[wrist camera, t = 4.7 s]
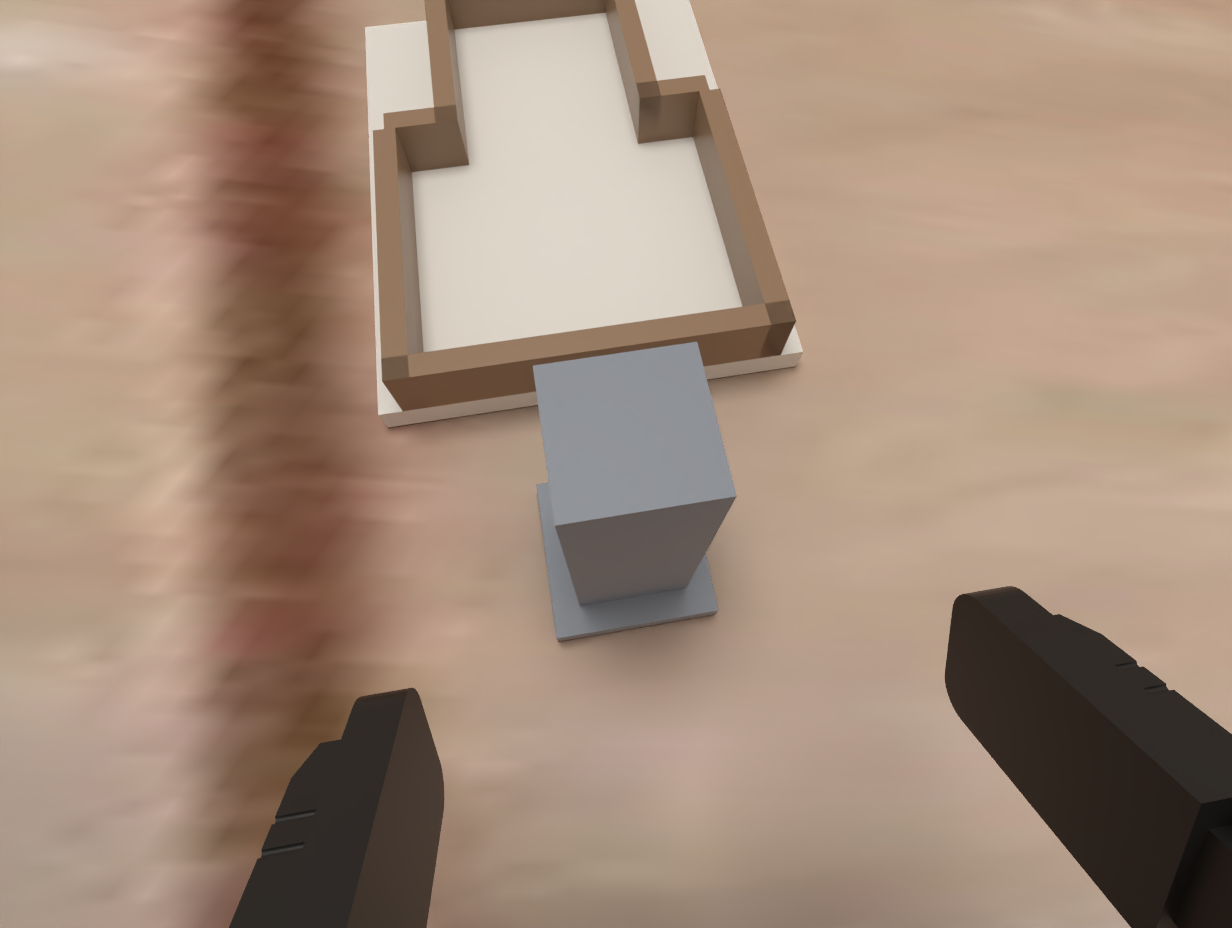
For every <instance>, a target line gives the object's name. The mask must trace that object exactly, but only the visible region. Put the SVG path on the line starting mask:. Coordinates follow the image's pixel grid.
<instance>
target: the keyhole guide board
mask: <svg viewBox="0 0 1232 928" xmlns="http://www.w3.org/2000/svg"><path fill="white" fill-rule="evenodd" d="M425 11H426V21H417V22H408V23H399V24H390V25H381V26H372V27H365V35H366V65H367V95H368V125H369V155H370V185H371V215H372V245H373V275H374V304H375V334H376V364H377V394H378V415H379V417H380V418H381V419H382V421H383V422H384V423H385V424H386V426H387V427H395V426H401V425H408V424H415V423H421V422H428V421H434V420H441V419H448V418H454V417H461V416H468V415H474V414H481V413H488V412H494V411H501V410H508V409H514V408H521V407H528V406H534V405H538V401H537V393H536V386H535V379H534V372H533V366H534V365H541V364H547V363H554V362H561V361H568V360H575V359H582V358H589V357H595V356H602V355H609V354H616V353H623V352H630V351H637V350H643V349H650V348H657V347H664V346H671V345H678V344H685V343H692V342H697V343H698V347H699V351H700V355H701V359H702V362H703V366H704V370H705V374H706V378H707V380H708V379H714V378H721V377H728V376H734V375H741V374H748V373H754V372H761V371H768V370H774V369H781V368H788V367H794V366H796V365H797V363H798V361H799V359H800V357H801V355H802V353H803V350H802V346H801V343H800V340H799V337H798V334H797V331H796V328H795V325H794V324H795V322H796V319H795V316H794V313H793V310H792V307H791V304H790V301H789V298H788V295H787V292H786V289H785V286H784V283H783V280H782V277H781V273H780V270H779V267H778V264H777V261H776V258H775V255H774V252H773V249H772V246H771V243H770V240H769V237H768V234H767V231H766V228H765V224H764V221H763V218H762V215H761V212H760V209H759V206H758V203H757V200H756V197H755V194H754V191H753V188H752V185H751V182H750V179H749V175H748V172H747V169H746V166H745V163H744V160H743V157H742V154H741V151H740V148H739V145H738V142H737V139H736V136H735V133H734V130H733V127H732V123H731V120H730V117H729V114H728V111H727V108H726V105H725V102H724V99H723V96H722V93H721V90H720V89H718V88H717V85H716V82H715V79H714V75H713V72H712V69H711V66H710V63H709V60H708V57H707V54H706V51H705V48H704V45H703V42H702V38H701V35H700V32H699V29H698V26H697V23H696V20H695V17H694V14H693V11H692V8H691V5H690V2H689V0H425Z"/></svg>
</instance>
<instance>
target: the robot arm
mask: <svg viewBox="0 0 1232 928" xmlns="http://www.w3.org/2000/svg"><path fill="white" fill-rule="evenodd" d="M945 683H946V688H947V692H948V695H949V698H950V701H951V703H952V705H953V707H954V709H955V711H956V713H957V714H958V716H959V717H960V719H961V720H962V721H963V722H964V724H965V725H966V726H967V727H968V728H969V730H970V731H971V732H972V733H973V735H974V736H975V737H976V738H977V739H978V741H979V742H980V743H981V744H982V746H983V747H984V748H985V749H986V750H987V752H988V753H989V754H990V755H991V757H992V758H993V759H994V760H995V761H996V763H997V764H998V765H999V766H1000V768H1001V769H1002V770H1003V771H1004V772H1005V774H1006V775H1007V776H1008V777H1009V779H1010V780H1011V781H1012V782H1013V783H1014V785H1015V786H1016V787H1017V788H1018V790H1019V791H1020V792H1021V793H1022V794H1023V796H1024V797H1025V798H1026V799H1027V801H1028V802H1029V803H1030V804H1031V806H1032V807H1033V808H1034V809H1035V810H1036V812H1037V813H1038V814H1039V815H1040V817H1041V818H1042V819H1043V820H1044V821H1045V823H1046V824H1047V825H1048V826H1049V828H1050V829H1051V830H1052V831H1053V832H1054V834H1055V835H1056V836H1057V837H1058V839H1059V840H1060V841H1061V842H1062V843H1063V845H1064V846H1065V847H1066V848H1067V850H1068V851H1069V852H1070V853H1071V854H1072V856H1073V857H1074V858H1075V859H1076V861H1077V862H1078V863H1079V864H1080V865H1081V867H1082V868H1083V869H1084V870H1085V872H1086V873H1087V874H1088V875H1089V876H1090V878H1091V879H1092V880H1093V881H1094V883H1095V884H1096V885H1097V886H1098V887H1099V889H1100V890H1101V891H1102V892H1103V894H1104V895H1105V896H1106V897H1107V898H1108V900H1109V901H1110V902H1111V903H1112V905H1113V906H1114V907H1115V908H1116V909H1117V911H1118V912H1119V913H1120V914H1121V916H1122V917H1123V918H1124V919H1125V920H1126V922H1127V923H1128V924H1129V925H1130V927H1131V928H1232V734H1231V733H1229V732H1228V731H1227V730H1225V729H1224V728H1223V727H1221V726H1220V725H1219V724H1218V723H1216V722H1215V721H1214V720H1212V719H1211V718H1210V717H1208V716H1207V715H1206V714H1205V713H1203V712H1202V711H1201V710H1199V709H1198V708H1197V707H1195V706H1194V705H1193V704H1192V703H1190V702H1189V701H1188V700H1186V699H1185V698H1184V697H1183V696H1181V695H1180V694H1179V693H1177V692H1176V691H1175V690H1168V689H1167V687H1166V683H1164V682H1163V681H1162V680H1160V679H1159V678H1158V677H1157V676H1155V675H1154V674H1153V673H1151V672H1150V671H1149V670H1147V669H1146V668H1145V667H1139V666H1138V665H1137V661H1136V660H1134V659H1133V658H1132V657H1131V656H1129V655H1128V654H1127V653H1125V652H1124V651H1123V650H1121V649H1120V648H1119V647H1118V646H1116V645H1115V644H1114V643H1112V642H1111V641H1110V640H1108V639H1107V638H1106V637H1105V636H1103V635H1102V634H1100V633H1098V632H1096V631H1094V630H1092V629H1089V628H1087V627H1085V626H1083V625H1081V624H1079V623H1077V622H1075V621H1072V620H1070V619H1068V618H1066V617H1064V616H1062V615H1060V614H1058V615H1052V614H1051V613H1049V612H1048V611H1047V610H1046V609H1045V608H1043V607H1042V606H1041V605H1040V604H1038V603H1037V602H1036V601H1035V600H1033V599H1032V598H1031V597H1030V596H1028V595H1027V594H1026V593H1025V592H1023V591H1022V590H1020V589H1018V588H1016V587H1012V586H1007V587H1001V588H996V589H990V590H984V591H978V592H973V593H967V594H962V595H959V596H958V597H957V598H956V600H955V601H954V604H953V609H952V618H951V626H950V635H949V643H948V652H947V660H946V668H945ZM443 810H444V782H443V774H442V768H441V764H440V760H439V757H438V754H437V751H436V747H435V744H434V741H433V738H432V735H431V731H430V728H429V725H428V722H427V719H426V715H425V712H424V709H423V706H422V702H421V699H420V697H419V694H418V692H417V691H416V689H414V688H408V689H402V690H397V691H391V692H385V693H379V694H373V695H368V696H362V697H359V698H358V699H357V700H356V702H355V703H354V706H353V708H352V711H351V714H350V716H349V719H348V722H347V725H346V728H345V730H344V733H343V736H342V739H341V740H336V741H330V742H324V743H320V744H319V745H318V747H317V748H316V749H315V750H314V751H313V753H312V754H311V755H310V756H309V757H308V759H307V760H306V761H305V762H304V764H303V765H302V766H301V767H300V768H299V770H298V771H297V772H296V773H295V774H294V776H293V777H292V778H291V780H290V783H289V785H288V787H287V790H286V792H285V795H284V797H283V799H282V802H281V804H280V807H279V809H278V811H277V814H276V816H275V818H276V822H275V824H273V825H272V826H271V828H270V830H269V833H268V835H267V838H266V840H265V842H264V845H263V847H262V856H261V858H259V859H257V862H256V864H255V866H254V869H253V871H252V874H251V876H250V878H249V881H248V883H247V886H246V888H245V890H244V893H243V895H242V898H241V900H240V902H239V905H238V907H237V910H236V912H235V914H234V917H233V919H232V922H231V924H230V926H229V928H426V926H427V919H428V912H429V906H430V899H431V892H432V885H433V878H434V872H435V865H436V858H437V851H438V845H439V838H440V831H441V824H442V817H443Z"/></svg>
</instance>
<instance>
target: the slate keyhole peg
mask: <svg viewBox="0 0 1232 928" xmlns="http://www.w3.org/2000/svg"><path fill="white" fill-rule="evenodd" d="M533 372H534V379H535V386H536V393H537V401H538V408H539V415H540V422H541V429H542V437H543V444H544V451H545V458H546V465H547V473H548V480H549V483H543V484H537V485H536V486H537V493H538V501H539V509H540V516H541V524H542V532H543V539H544V547H545V555H546V562H547V570H548V577H549V585H550V593H551V600H552V608H553V616H554V623H555V631H556V638H557V640H558V641H565V640H571V639H577V638H582V637H588V636H594V635H600V634H605V633H611V632H617V631H622V630H628V629H634V628H640V627H645V626H651V625H657V624H663V623H668V622H674V621H680V620H686V619H691V618H697V617H703V616H709V615H714V614H715V613H716V612H717V611H718V606H717V602H716V597H715V593H714V588H713V584H712V579H711V575H710V571H709V566H708V562H707V557H706V551H707V549H708V547H709V545H710V544H711V542H712V540H713V538H714V536H715V535H716V533H717V531H718V529H719V527H720V525H721V524H722V522H723V520H724V518H725V516H726V514H727V513H728V511H729V509H730V507H731V505H732V504H733V502H734V500H735V498H736V492H735V488H734V484H733V481H732V477H731V473H730V469H729V465H728V461H727V457H726V453H725V449H724V445H723V441H722V437H721V433H720V429H719V425H718V421H717V418H716V414H715V410H714V406H713V402H712V398H711V394H710V390H709V386H708V382H707V378H706V374H705V370H704V366H703V362H702V359H701V355H700V351H699V347H698V343H697V342H692V343H685V344H678V345H671V346H664V347H657V348H650V349H643V350H637V351H630V352H623V353H616V354H609V355H602V356H595V357H589V358H582V359H575V360H568V361H561V362H554V363H547V364H541V365H534V366H533Z"/></svg>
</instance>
